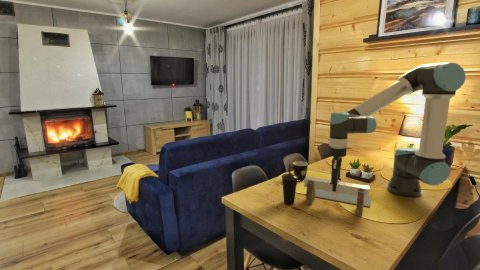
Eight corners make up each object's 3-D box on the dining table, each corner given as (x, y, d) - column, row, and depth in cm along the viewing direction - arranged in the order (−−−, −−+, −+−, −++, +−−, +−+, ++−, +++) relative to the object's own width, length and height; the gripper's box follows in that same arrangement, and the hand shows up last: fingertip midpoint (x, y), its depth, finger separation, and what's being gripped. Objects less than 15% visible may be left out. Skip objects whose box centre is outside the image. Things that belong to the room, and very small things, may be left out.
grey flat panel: (371, 197, 131) (371, 196, 131) (370, 207, 120) (370, 206, 120) (311, 187, 145) (311, 186, 145) (305, 195, 134) (305, 194, 134)
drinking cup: (287, 208, 121) (288, 167, 117) (278, 201, 128) (278, 162, 124) (300, 204, 125) (301, 164, 121) (290, 198, 131) (291, 160, 127)
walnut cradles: (363, 208, 120) (365, 185, 118) (361, 216, 113) (363, 192, 111) (310, 197, 131) (310, 177, 129) (306, 204, 124) (306, 183, 122)
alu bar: (368, 194, 116) (369, 186, 115) (368, 198, 112) (369, 189, 112) (306, 183, 129) (306, 176, 128) (304, 186, 125) (304, 179, 125)
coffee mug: (306, 176, 160) (306, 161, 158) (308, 182, 152) (309, 165, 149) (287, 176, 161) (287, 161, 159) (288, 181, 153) (288, 165, 151)
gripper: (332, 141, 125) (329, 187, 130) (325, 150, 111) (322, 201, 115) (348, 143, 122) (345, 189, 127) (344, 152, 107) (340, 204, 112)
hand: (334, 195), depth 121 cm, fingers closed on alu bar, 4 cm apart
